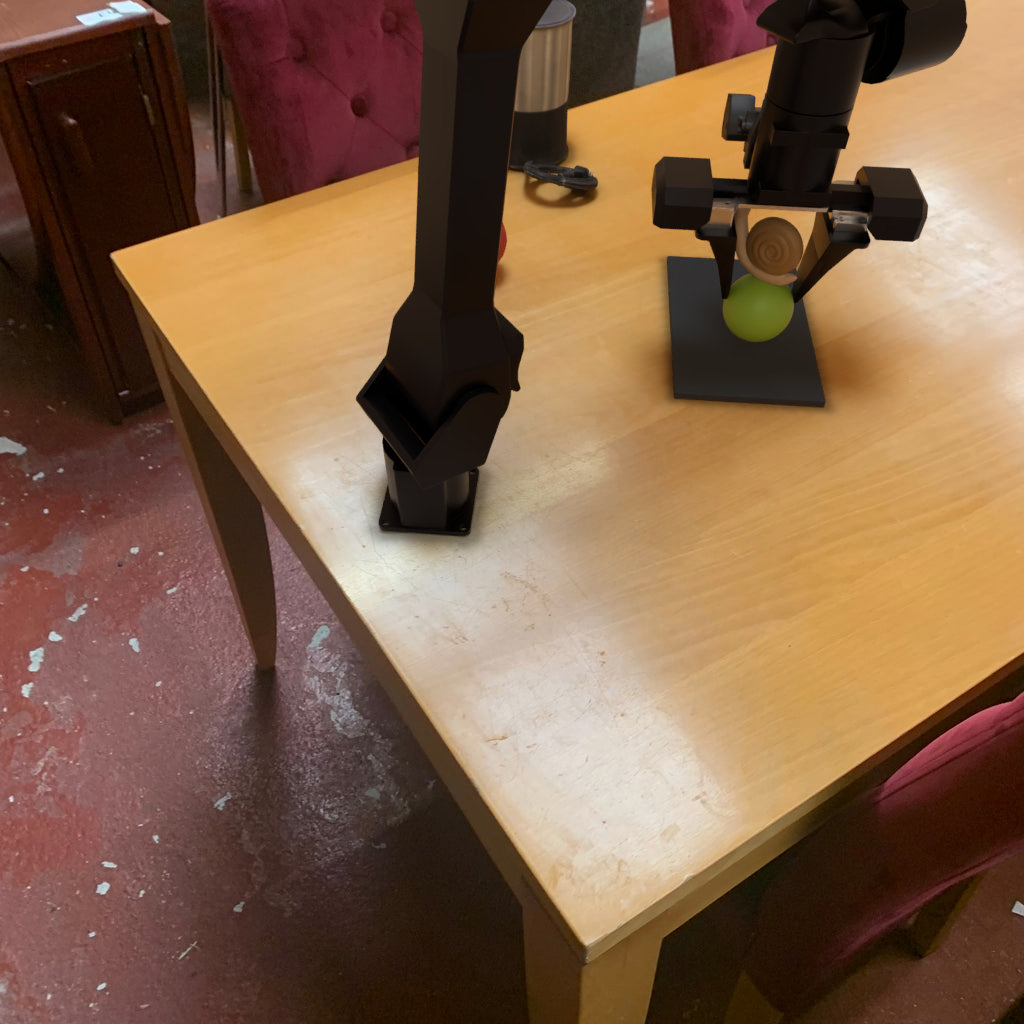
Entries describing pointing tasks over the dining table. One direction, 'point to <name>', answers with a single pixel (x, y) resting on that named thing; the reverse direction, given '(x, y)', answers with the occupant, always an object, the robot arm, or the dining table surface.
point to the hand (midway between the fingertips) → (759, 298)
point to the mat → (734, 345)
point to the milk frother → (546, 103)
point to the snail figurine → (763, 278)
